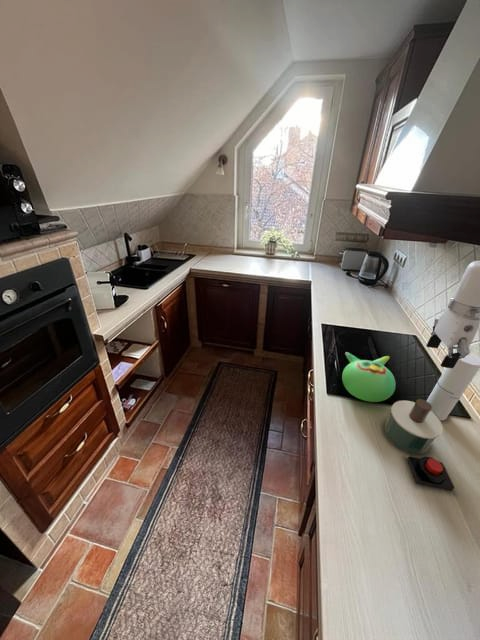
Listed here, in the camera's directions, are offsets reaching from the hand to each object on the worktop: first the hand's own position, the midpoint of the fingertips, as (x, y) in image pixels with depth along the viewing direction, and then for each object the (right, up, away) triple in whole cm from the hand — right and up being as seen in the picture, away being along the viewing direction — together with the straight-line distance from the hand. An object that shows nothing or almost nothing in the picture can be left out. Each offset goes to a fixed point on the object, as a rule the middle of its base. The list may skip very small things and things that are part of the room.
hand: (438, 356), depth 78 cm
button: (-7, -30, -7) cm, 32 cm away
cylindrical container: (+10, -22, +14) cm, 28 cm away
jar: (-7, -27, +5) cm, 28 cm away
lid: (-7, -19, +1) cm, 21 cm away
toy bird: (-13, -17, +21) cm, 30 cm away
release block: (-7, -33, -5) cm, 34 cm away
